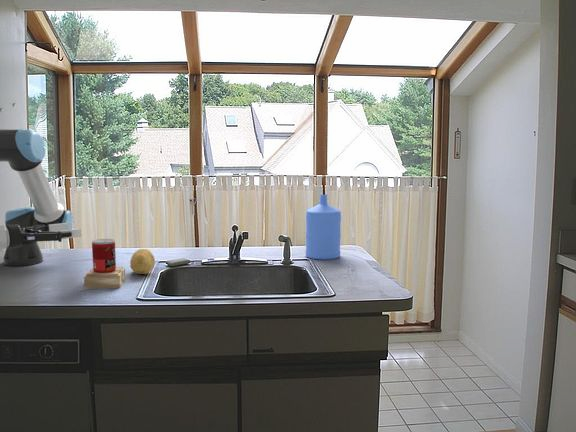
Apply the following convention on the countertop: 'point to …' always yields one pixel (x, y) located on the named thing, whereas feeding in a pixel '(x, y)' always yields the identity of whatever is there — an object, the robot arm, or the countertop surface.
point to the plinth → (104, 279)
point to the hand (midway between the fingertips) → (74, 229)
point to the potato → (142, 261)
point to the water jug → (323, 231)
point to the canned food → (104, 255)
